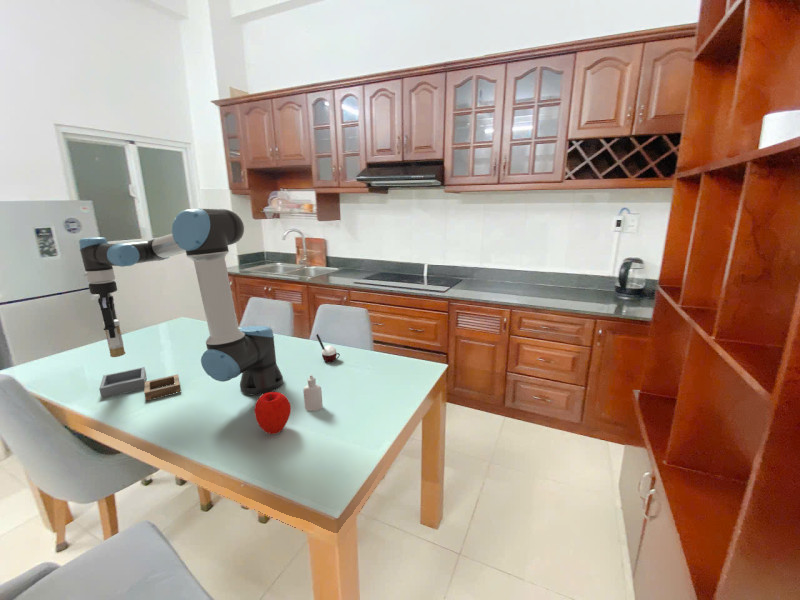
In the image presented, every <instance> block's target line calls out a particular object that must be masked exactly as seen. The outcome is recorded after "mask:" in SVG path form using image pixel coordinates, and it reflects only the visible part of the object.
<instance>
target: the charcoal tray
mask: <svg viewBox="0 0 800 600" xmlns="http://www.w3.org/2000/svg"><path fill="white" fill-rule="evenodd" d="M146 372H147V371H146V367H145V366H144V367H143V366H142V367H138V368H133V369H128V370H125V371H124V370H123V371H119V372H113V373H110V374H109V373H108V374H103V375H102V379H101V382H100V384H99V392H100V393H99V394H100V397H101V399H104V398H105V399H106V398H110V397H113V396H117V395H122V394H126V393H130V392H134V391H135V392H136V391H138V390H139V391H140V390H143V389H144V390H145V382H146V381H147V373H146Z"/></svg>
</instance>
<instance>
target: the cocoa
mask: <svg viewBox="0 0 800 600" xmlns="http://www.w3.org/2000/svg"><path fill="white" fill-rule="evenodd" d="M316 338H317V341H318V343H319V344H320V347H321V349H322V350H321V357H322V360H323V361H324V362H325V363H333V362H334V361H335V360H338V359H339V358H340V353H338V352H337V349H336V348H335V347H334V346H333V345H326V346H324V344H323V342H322V339H321V337H320V335H319V333H317V334H316ZM337 356H338V357H337Z"/></svg>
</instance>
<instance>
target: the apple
mask: <svg viewBox="0 0 800 600" xmlns="http://www.w3.org/2000/svg"><path fill="white" fill-rule="evenodd" d="M253 412H254V417H255V420H256V423H257V425H258V427H260V428H261V430H262V431H264V432H265V433H267V434H268V435H277V434H279V433H281V432H282V430H283V429H284V428H285V427H286V425H287V424H288V423H287V422H288V421H289V419H290V416H291V412H292V406H291V403H290V401H289V398H287V396H286V395H285V394H284V393H281V392H278V391H272V392H269V393H265V394H262V395H261V396H260V395H259V397H258V399H257V400H256V402H255V405H254V411H253Z"/></svg>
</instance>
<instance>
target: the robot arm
mask: <svg viewBox="0 0 800 600" xmlns="http://www.w3.org/2000/svg"><path fill="white" fill-rule="evenodd" d="M244 233H245V225H244V222H243V219H242V218H241V217H240V216H239V215H238V214H237V213H235V211H234V212H233V210H229V209H224V208H219V209H218V208H191V209H188V208H187V209H184V210H182V211H180V212H178V213H177V215H176V216H175V218H174V219H173V222H172V224H171V233H169V234H166V235H163V236H160V237H156V238H153V239H151V240H144V241H143V240H141V241H133V242H131V241H130V242H122V243H121V242H120V243H119V242H118V243H108V240H107V238H106V237H101V236H100V237H99V236H98V237H82V238H80V239H79V240H78V242H79V243H78V245H79V252H80V256H81V259H82V262H83V267H84V270H85V273H84V274H83V276H84V277H87V278H86V279H87V282H88V289H89V292H90V294H91V295H99V297H98V299H97V301H98V302H97V303H98V305H99V307H100V311H101V315H102V316H101V317H102V321H103V322H104V324H105V328H103V330H104V331H105V330H107V334H108V339H109V343H110V347H112V346H118V345H120V343H119V338H118V334H117V329H116V326H115V323H114V319H116V320H118V318H117V314H116V309H115V303H114V296H113V295H111V294H112V293H115V292H118V287H117V282H116V281H115V279H116V276H115V271H114V268H113V267H130V266H131V267H132V266H134V265H135V264H142V263H148V262H149V263H150V262H155V261H156V262H157V261H158V262H159V261H164V260H167V259H169V258H171V257H174V256H177V255H181V254H184V253H185V254H186V257H187V258H188V259H190V260H192V261H193V264H194V269H195V273H196V277H197V282H198V287H199V292H200V295H201V296H200V297H201V300H202V305H203V311H204V313H205V319H206V323H207V329H208V334H209V336H208V338H207V339H206V340H205V344H206V349H207V350H205V351H204V352H203V354H202V355H201V358H200V362H201V363H200V364H201V366H202V369H203V370H204V372H205V373H206V374H207V376H209V377H211V378H212V379H213V380H215V381H218V382H223V383H224V382H228V381H230V380H233V379H235V378H238V377H239V376H240V375H241V377H240V382H239V387H240V392H241V393H243V394H244V395H247V396H260V395H263V394H265V393H269V392H276V390H278V389H280V388H281V387H282V386H283V385H284V378H283V377H284V376H283V374H282V372H281V370H280V367H279V366H278V364H277V357H276V347H275V336H274V331H273V328H271V327H269V326H265V325H249V326H243V327H240V328H239V324H238V318H237V314H236V309H235V308H236V307H235V303H234V298H233V293H232V288H231V283H230V279H229V278H230V277H229V272H228V267H227V261H226V256H227V255H228V254H229V252H230V250H229V246H231V245H234V244H236V243H238V242H240V240H241V239H242V238H243V235H244Z"/></svg>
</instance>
